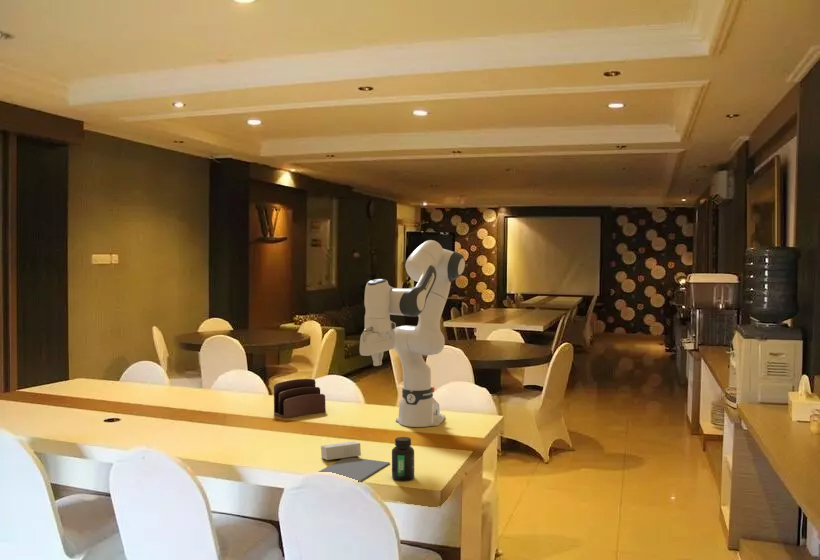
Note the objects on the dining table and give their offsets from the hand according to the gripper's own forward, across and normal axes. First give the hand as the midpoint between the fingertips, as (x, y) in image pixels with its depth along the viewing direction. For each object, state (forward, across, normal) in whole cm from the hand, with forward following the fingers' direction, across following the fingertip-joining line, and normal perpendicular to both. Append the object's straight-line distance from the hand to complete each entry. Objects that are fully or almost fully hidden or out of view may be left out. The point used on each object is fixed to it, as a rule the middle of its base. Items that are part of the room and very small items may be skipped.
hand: (377, 365), depth 244 cm
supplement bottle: (+29, -26, -22) cm, 45 cm away
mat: (+29, -25, -4) cm, 39 cm away
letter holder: (+29, +34, +55) cm, 71 cm away
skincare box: (+27, -11, +2) cm, 29 cm away
